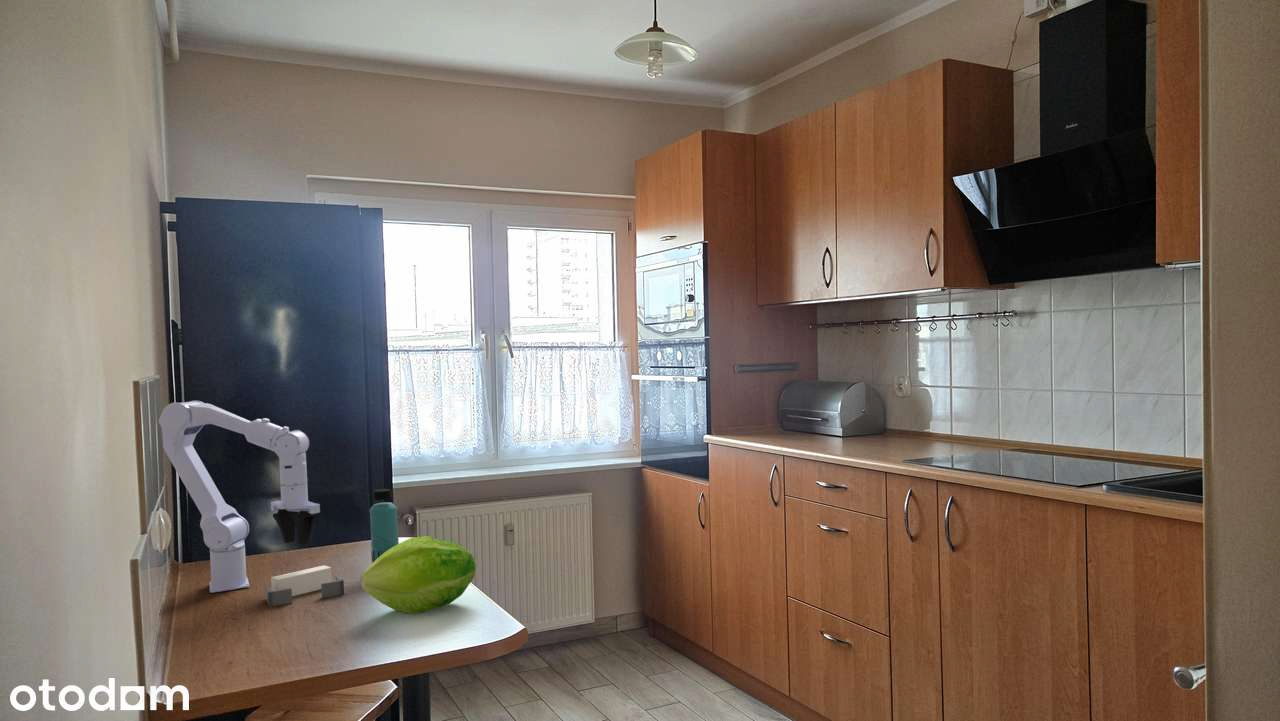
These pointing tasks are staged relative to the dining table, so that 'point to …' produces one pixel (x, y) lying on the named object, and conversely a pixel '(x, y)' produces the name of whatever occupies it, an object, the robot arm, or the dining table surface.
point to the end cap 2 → (333, 587)
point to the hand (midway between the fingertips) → (296, 543)
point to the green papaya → (419, 574)
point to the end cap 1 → (278, 596)
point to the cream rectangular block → (302, 580)
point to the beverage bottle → (383, 524)
